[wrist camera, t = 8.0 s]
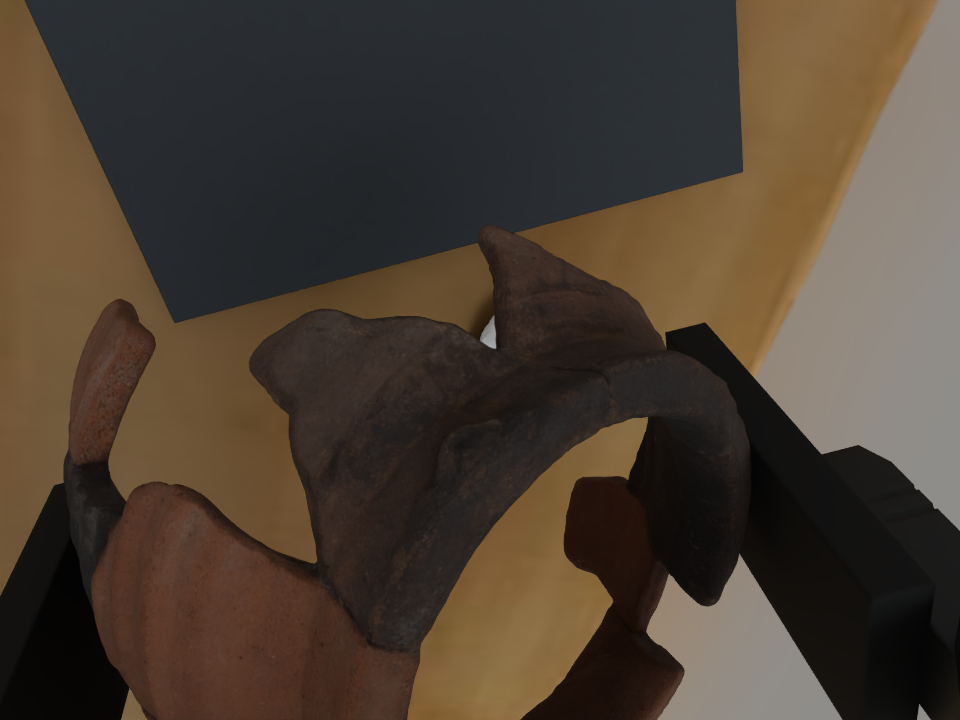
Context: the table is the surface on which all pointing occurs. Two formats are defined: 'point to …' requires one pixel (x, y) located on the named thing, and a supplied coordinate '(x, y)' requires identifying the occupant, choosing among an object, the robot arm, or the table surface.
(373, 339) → the brown piece
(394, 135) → the placemat
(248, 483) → the table surface
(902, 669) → the robot arm
